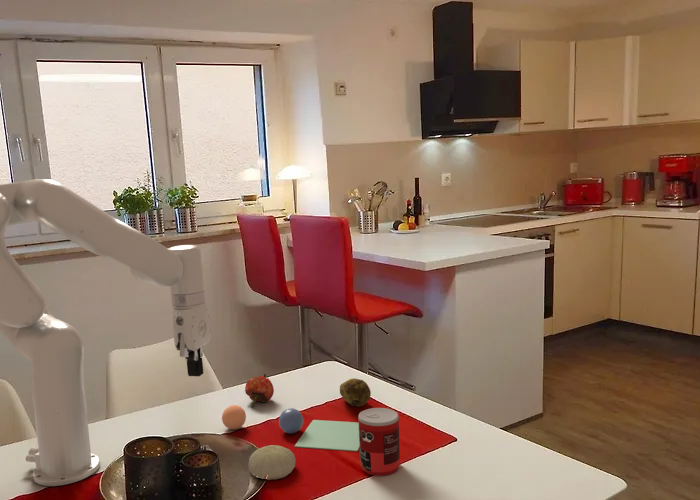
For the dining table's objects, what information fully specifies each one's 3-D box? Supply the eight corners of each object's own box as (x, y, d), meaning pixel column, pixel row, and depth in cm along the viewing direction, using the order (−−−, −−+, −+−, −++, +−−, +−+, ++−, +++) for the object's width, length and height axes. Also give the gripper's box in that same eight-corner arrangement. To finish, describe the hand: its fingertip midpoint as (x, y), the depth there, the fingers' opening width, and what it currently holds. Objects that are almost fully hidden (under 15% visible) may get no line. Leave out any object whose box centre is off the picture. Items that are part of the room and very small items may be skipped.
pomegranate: (269, 416, 160) (285, 383, 166) (253, 400, 155) (271, 366, 161) (247, 414, 164) (264, 381, 170) (231, 398, 160) (249, 365, 166)
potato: (373, 396, 164) (372, 367, 163) (370, 416, 151) (369, 384, 150) (341, 396, 165) (340, 367, 164) (336, 416, 152) (334, 384, 151)
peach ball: (218, 432, 146) (217, 409, 145) (228, 422, 151) (227, 400, 150) (241, 434, 144) (239, 411, 144) (250, 424, 150) (248, 402, 149)
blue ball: (276, 436, 142) (274, 413, 142) (284, 426, 148) (283, 404, 147) (299, 438, 141) (298, 414, 140) (306, 427, 146) (305, 405, 146)
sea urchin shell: (292, 475, 121) (262, 446, 121) (266, 501, 123) (236, 472, 123) (304, 453, 130) (276, 426, 130) (280, 477, 132) (252, 450, 132)
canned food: (360, 458, 130) (358, 407, 129) (399, 457, 130) (397, 406, 129) (359, 477, 123) (357, 423, 121) (401, 476, 123) (399, 422, 121)
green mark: (294, 446, 137) (294, 445, 137) (313, 420, 150) (313, 419, 150) (357, 451, 134) (357, 450, 134) (370, 424, 147) (370, 423, 147)
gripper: (187, 307, 138) (195, 387, 141) (217, 291, 152) (224, 364, 155) (156, 307, 139) (165, 386, 142) (188, 291, 154) (196, 363, 157)
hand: (195, 374), depth 149 cm, fingers closed
